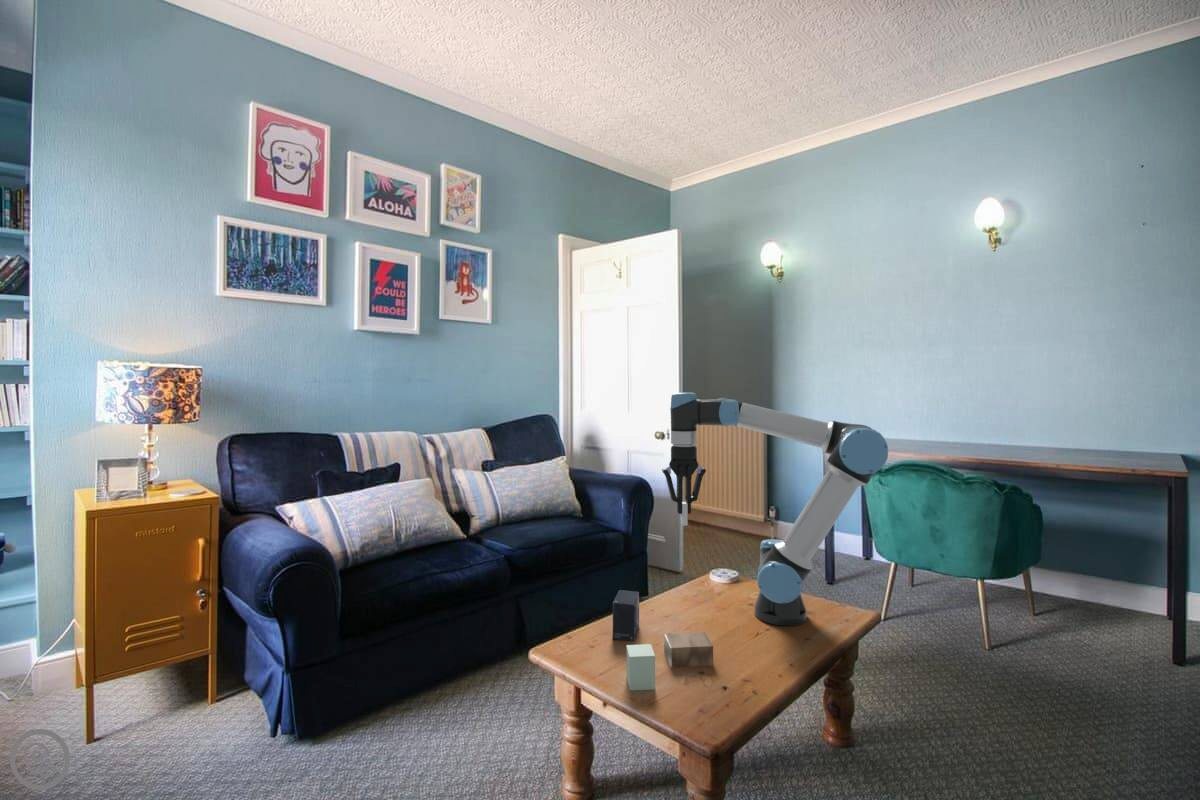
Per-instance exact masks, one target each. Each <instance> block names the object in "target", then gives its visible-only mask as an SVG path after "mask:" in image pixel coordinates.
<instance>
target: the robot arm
mask: <svg viewBox="0 0 1200 800" xmlns="http://www.w3.org/2000/svg"><path fill="white" fill-rule="evenodd" d="M669 409H670V444H671V446H670V462H669V464H668V466H667V467H665V468H662V470H661V471H662V474H664V477H665V480H666V484H667V488H668V493H669V496H670V499H671V500H672V501H673V502H675V503H676V505H677V506H676V509H677V511H676V512H677V514H679V515H680V525H681V526H682V527H686V526H688V524H689V523H688V517H689V516H688V515H691V513H692V503H693V502H696V501H697V500H698V497H699V492H700V488H701V484H702V481H703V477H704V475H705V473H706V472H707V470H706V468H704V467H702V466H701V465H699V462H698V455H697V452H698V451H697V449H698V447H697V446H696V445H697V443H698V439H697V437H698V436H697V435H698V433H697V426H721V427H722V426H724V427H728V426H735V427H738V428H739V427H740V428H743V429H747V430H750V431H755V432H758V433H762V434H766V435H770V436H774V437H778V438H781V439H786V440H789V441H793V442H797V443H801V444H805V445H810V446H813V447H816V448H820V449H821V450H822V451H823V453H827V454H830V456H829V457H828V458H827V460H826V465H827V468H828V469H827V471H826V473H825V474H824V475H823V477H822V479H821V481H820V482H819V484H818V485H817V486H816V488H815V490H814V492H813V493H812V495H811V496H810V498H809V500H808V501H807V503H806V504H805V506H804V507H803V509H802V511H801V512H800V513H799V515H798V517H797V518H796V520H795V522H794V523H793V525H792V526H791V528H790V529H789V531H788V532H787V534H786V536H785V537H784V539H774V538H770V539H764V540H762V541H761V542H760V547H759V550H760V557H759V560H760V561H759V565H758V571H757V574H756V582H757V586H758V588H759V593H758V595H757V597H756V601H755V604H754V616H755V617H756V618H757V619H759V620H760V621H762V622H764V623H768V624H771V625H775V626H786V627H787V626H788V627H790V626H797V625H801V624H804V623H805V622H806V621H807V618H808V617H807V615H808V614H807V609H806V605H805V603H804V599H803V596H802V593H801V592H802V590H803V584H804V582H805V580H806V579H807V577H808V576H809V574H810V572H811V571H812V569H813V568H814V567H813V562H812V559H813V557H814V555H815V553H816V552H817V550H818V549H819V548H820V546H821V545H822V543H823V542H824V539H826V537H827V536H828V534H829V532H830V531H831V529H832V527H833V526H834V524H835V523H836V522H837V520H838V518H839V517H840V515H841V514H842V512H843V511H844V510H845V508H846V506H847V505H848V503H849V501H850V500H851V499H852V497H853V495H854V494H855V493H856V491H857V489H858V488H859V487H861V486H867V485H868V484H869V482H870V481H871V479H872V477H873V476H874V474H875V473H877V472H878V471H880V470H881V469H882V468H883V467H884V465H885V464H886V462H887V460H888V457H889V447H888V443H887V441H886V439H885V437H884V436H883V435H882V434H881V433H880V432H878V431H877V430H876V429H873V428H871V427H870V426H868V425H865V424H858V423H857V424H856V423H847V422H841V421H836V420H831V421H828V422H825V421H822V420H818V419H812V418H808V417H805V416H800V415H796V414H791V413H788V412H784V411H780V410H774V409H771V408H766V407H763V406H759V405H756V404H755V405H754V404H751V403H750V404H749V403H746V402H741V401H738V400H737V399H731V398H730V397H724V396H723V397H719V398H717V399H701V398H698V397H697V393H695V392H674V393H673V394H672V395H671V398H670V408H669ZM672 472H673V474H674V475H675V477H676V492H675V487H674V484H673V479H672V476H671V474H672ZM695 472H696V476H695V480H694V484H693V489H692V476H693V475H694V473H695ZM683 480H685V481H683ZM683 482H685V483H684V484H685V485H684V487H685V493H684V495H685V497H684V498H685V501H683V499H684V498H683V492H684V491H683Z"/></svg>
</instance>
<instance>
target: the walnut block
mask: <svg viewBox="0 0 1200 800" xmlns="http://www.w3.org/2000/svg"><path fill="white" fill-rule="evenodd" d="M663 636H664V637H663V639H664V640H663V643H664V644H663V646H664V648H663V649H664V650H663V651H664V655H665V658H666V660H667V662H668V666H669V667H670V668H677V667H678V668H684V667H685V668H686V667H701V666H702V667H705V666H706V667H707V666H714V645H713V643H712V642H711V640H710V638H709V636H708V635H707V633H706V632H685V633H684V632H682V633H681V632H680V633H664V634H663Z"/></svg>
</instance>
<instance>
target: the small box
mask: <svg viewBox="0 0 1200 800" xmlns="http://www.w3.org/2000/svg"><path fill="white" fill-rule="evenodd" d="M639 625H640V592H639V591H635V590H633V591H632V590H624V589H623V590H622V589H619V590H618V592H617V594H616V595H615V598H614V599H613V601H612V640H621V641H631V642H632V641H635V638H636V635H637V632H638V630H639Z"/></svg>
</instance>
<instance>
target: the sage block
mask: <svg viewBox="0 0 1200 800" xmlns="http://www.w3.org/2000/svg"><path fill="white" fill-rule="evenodd" d="M625 647H626V680H627V683H628V688H629V689H628V690H629V691H648V690H649V691H650V690H656V654H655V651H654V649H653V646H652V643H646V644H645V643H644V644H643V643H641V644H626V646H625Z"/></svg>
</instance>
